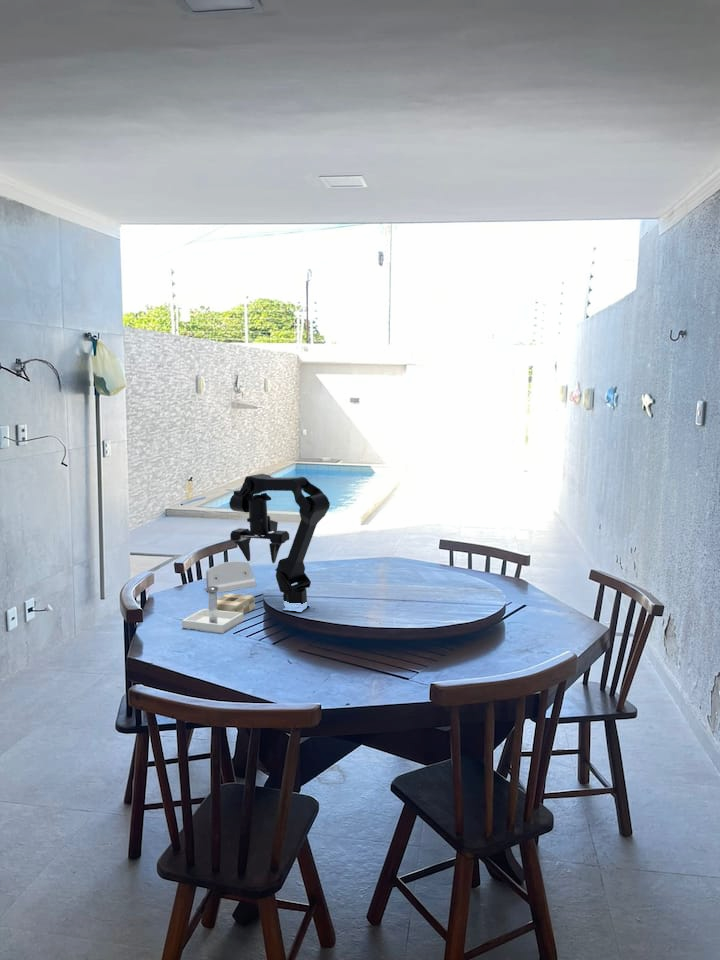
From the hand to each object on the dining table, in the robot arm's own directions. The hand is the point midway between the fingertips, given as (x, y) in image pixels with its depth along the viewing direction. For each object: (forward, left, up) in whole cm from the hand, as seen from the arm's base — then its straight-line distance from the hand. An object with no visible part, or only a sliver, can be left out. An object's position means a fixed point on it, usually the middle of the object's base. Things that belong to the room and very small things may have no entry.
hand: (261, 561), depth 245 cm
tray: (+3, +24, -13) cm, 27 cm away
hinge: (+19, -10, -13) cm, 25 cm away
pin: (+3, +24, -12) cm, 27 cm away
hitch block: (+4, +12, -13) cm, 18 cm away
